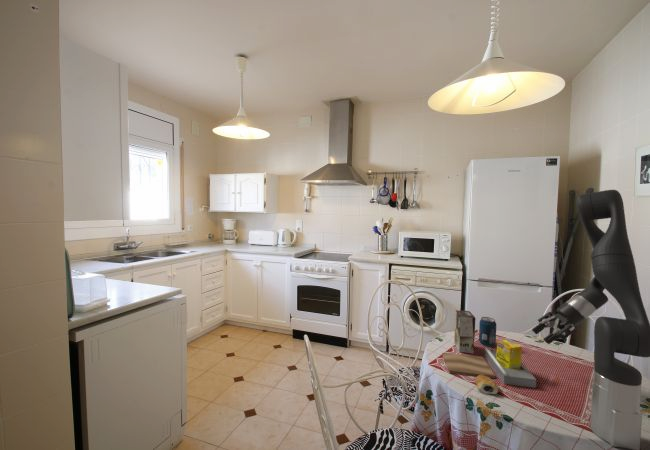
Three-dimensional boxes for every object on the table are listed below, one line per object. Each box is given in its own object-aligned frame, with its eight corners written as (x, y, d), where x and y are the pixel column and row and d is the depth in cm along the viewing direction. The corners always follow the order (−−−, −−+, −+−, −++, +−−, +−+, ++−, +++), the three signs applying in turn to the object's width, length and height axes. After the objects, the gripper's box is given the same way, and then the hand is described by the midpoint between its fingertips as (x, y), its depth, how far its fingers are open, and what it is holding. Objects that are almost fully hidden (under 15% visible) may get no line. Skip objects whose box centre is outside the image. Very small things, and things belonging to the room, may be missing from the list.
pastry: (472, 378, 108) (473, 368, 107) (492, 381, 106) (493, 371, 105) (478, 393, 99) (478, 382, 98) (500, 397, 97) (500, 386, 96)
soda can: (482, 339, 140) (483, 315, 139) (497, 344, 135) (499, 319, 134) (476, 343, 136) (477, 318, 135) (492, 349, 130) (493, 323, 130)
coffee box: (474, 353, 125) (476, 317, 125) (458, 352, 127) (460, 316, 126) (468, 344, 134) (469, 310, 134) (453, 342, 136) (455, 309, 135)
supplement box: (495, 367, 114) (496, 341, 114) (506, 365, 116) (508, 339, 116) (508, 376, 109) (510, 348, 108) (520, 373, 111) (522, 346, 110)
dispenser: (535, 387, 102) (536, 376, 102) (503, 383, 104) (503, 372, 104) (511, 359, 121) (511, 349, 121) (484, 356, 123) (484, 346, 123)
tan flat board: (495, 378, 107) (495, 375, 107) (449, 372, 110) (449, 370, 110) (482, 359, 121) (482, 357, 121) (442, 355, 124) (442, 352, 124)
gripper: (556, 296, 114) (523, 322, 117) (581, 308, 100) (542, 337, 103) (571, 311, 113) (537, 336, 116) (597, 325, 99) (558, 353, 102)
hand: (539, 336), depth 110 cm, fingers open, 8 cm apart
